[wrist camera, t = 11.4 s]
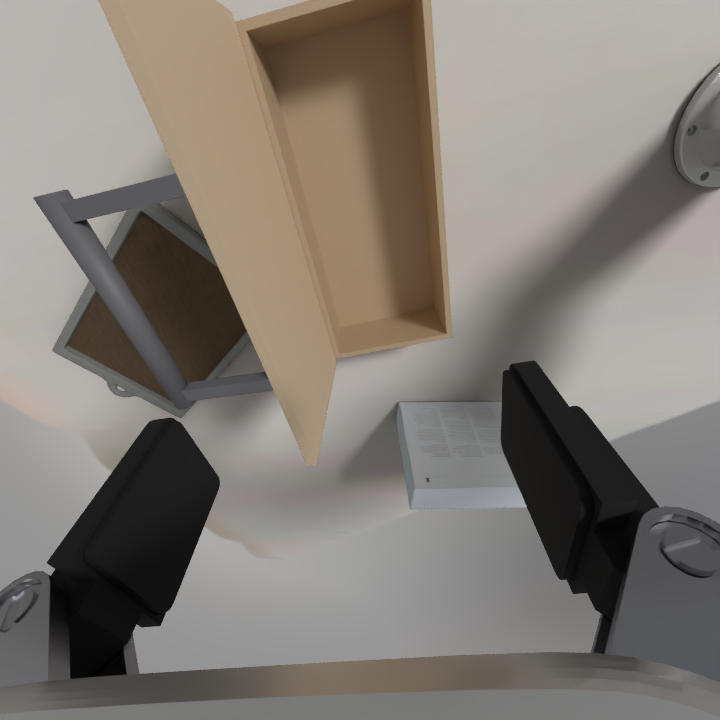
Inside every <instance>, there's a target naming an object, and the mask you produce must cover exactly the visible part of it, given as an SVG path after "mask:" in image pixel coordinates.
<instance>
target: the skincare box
mask: <svg viewBox="0 0 720 720" xmlns="http://www.w3.org/2000/svg"><path fill="white" fill-rule="evenodd" d="M501 411H502V402H399V403H398V409H397V416H396V425H397V431H398V437H399V443H400V450H401V456H402V462H403V468H404V474H405V480H406V486H407V492H408V499H409V505H410V509H411V510H415V509H468V508H469V509H470V508H471V509H472V508H518V507H527V506H526V504H525V501H524V499H523V497H522V494H521V492H520V490H519V488H518V485H517V483H516V481H515V478H514V476H513V474H512V471H511V469H510V467H509V464H508V462H507V460H506V457H505V455H504V453H503V450H502V446H501Z"/></svg>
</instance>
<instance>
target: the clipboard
mask: <svg viewBox="0 0 720 720" xmlns="http://www.w3.org/2000/svg"><path fill="white" fill-rule="evenodd" d="M106 252H107V253H108V255H109V257H110V258H111V260H112V261H113V263H114V265H115V266H116V268H117V270H118V271H119V273H120V274H121V276H122V278H123V279H124V281H125V282H126V284H127V286H128V287H129V289H130V290H131V292H132V294H133V295H134V297H135V298H136V300H137V302H138V303H139V305H140V306H141V308H142V310H143V311H144V313H145V315H146V316H147V318H148V319H149V321H150V323H151V324H152V326H153V327H154V329H155V331H156V332H157V334H158V335H159V337H160V339H161V340H162V342H163V343H164V345H165V347H166V348H167V350H168V352H169V353H170V355H171V356H172V358H173V360H174V361H175V363H176V364H177V366H178V368H179V369H180V371H181V372H182V374H183V376H184V377H185V379H186V380H187V382H196V381H203V380H210V379H216V378H217V377H218V376H219V375H220V374H221V373H222V371H223V370H224V369H225V368H226V367H227V366H228V365H229V363H230V362H231V361H232V360H233V359H234V358H235V357H236V355H237V354H238V353H239V352H240V351H241V350H242V349H243V348H244V346H245V345H246V344H247V343H248V342H249V341H250V340H251V339H250V336H249V334H248V332H247V330H246V328H245V325H244V323H243V321H242V319H241V316H240V314H239V312H238V310H237V308H236V305H235V303H234V301H233V299H232V296H231V294H230V292H229V290H228V288H227V285H226V283H225V281H224V279H223V276H222V274H221V272H220V270H219V268H218V265H217V263H216V261H215V259H214V256H213V254H212V252H211V250H210V248H209V245H208V243H207V241H206V240H205V239H204V238H203V237H201V236H200V235H199V234H198V233H196V232H195V231H194V230H192V229H191V228H190V227H188V226H187V225H186V224H185V223H183V222H182V221H181V220H179V219H178V218H177V217H176V216H174V215H173V214H172V213H170V212H169V211H168V210H166V209H165V208H164V207H163V206H161V205H160V204H159V203H153V204H149V205H145V206H141V207H136V208H132V209H128V210H127V211H126V213H125V215H124V217H123V219H122V221H121V223H120V224H119V226H118V228H117V230H116V232H115V234H114V236H113V238H112V239H111V241H110V243H109V245H108V247H107V249H106ZM53 351H54V352H55V353H57V354H59V355H61V356H63V357H65V358H67V359H69V360H71V361H72V362H74V363H76V364H78V365H80V366H82V367H84V368H86V369H88V370H90V371H92V372H93V373H95V374H97V375H99V376H101V377H103V378H104V379H105V380H106V381H107V384H108V387H109V389H110V390H111V391H112V392H113V393H114V394H116V395H118V396H121V397H130V396H134V395H135V396H139V397H141V398H143V399H145V400H147V401H149V402H151V403H153V404H154V405H156V406H158V407H160V408H162V409H164V410H166V411H168V412H170V413H172V414H174V415H175V416H177V417H179V418H182V417H183V416H184V414H185V413H186V412H187V411H188V410H189V409H190V408H191V407H192V406H190V407H189V408H186V409H183V410H178V409H177V408H176V407H175V405H174V404H173V402H172V401H171V399H170V398H169V396H168V395H167V393H166V392H165V390H164V389H163V388H162V386H161V385H160V383H159V382H158V380H157V379H156V377H155V376H154V374H153V373H152V371H151V370H150V369H149V367H148V366H147V364H146V363H145V361H144V360H143V358H142V357H141V355H140V354H139V352H138V351H137V349H136V348H135V347H134V345H133V344H132V342H131V341H130V339H129V338H128V336H127V335H126V333H125V332H124V330H123V329H122V327H121V326H120V325H119V323H118V322H117V320H116V319H115V317H114V316H113V314H112V313H111V311H110V310H109V308H108V307H107V305H106V304H105V303H104V301H103V300H102V298H101V297H100V295H99V294H98V292H97V291H96V289H95V288H94V286H93V285H92V283H91V282H90V281H89V282H88V284H87V286H86V288H85V290H84V292H83V294H82V295H81V297H80V299H79V301H78V303H77V305H76V307H75V308H74V310H73V312H72V314H71V316H70V318H69V320H68V322H67V323H66V325H65V327H64V329H63V331H62V333H61V335H60V336H59V338H58V340H57V342H56V344H55V346H54V348H53ZM117 385H118V386H120V387H122V388H124V389H125V390H126V391H124V392H123V391H120V390H118V389H117V387H116V386H117Z"/></svg>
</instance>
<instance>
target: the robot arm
mask: <svg viewBox="0 0 720 720" xmlns="http://www.w3.org/2000/svg"><path fill="white" fill-rule="evenodd" d="M674 158H675V163H676V166H677V169H678V171H679V172H680V174H681V175H682V177H684V178H685V179H686V180H687V181H689V182H690V183H693V184H696V185H699V186H706V187H720V65H719V66H718V67H717V68H716V69H715V70H714V71H713V72H712V73H711V74H710V75H709V76H708V77H707V78H706V80H705V81H704V82H703V84H702V85H701V86H700V87H699V89H698V90H697V91H696V93H695V94H694V96H693V98H692V99H691V101H690V102H689V104H688V106H687V107H686V110H685V112H684V114H683V116H682V118H681V121H680V123H679V126H678V130H677V133H676V137H675V145H674ZM501 446H502V450H503V453H504V455H505V457H506V460H507V462H508V464H509V467H510V469H511V471H512V474H513V476H514V478H515V481H516V483H517V485H518V488H519V490H520V492H521V494H522V497H523V499H524V501H525V504H526V506H527V508H528V511H529V513H530V515H531V518H532V520H533V522H534V524H535V526H536V529H537V531H538V534H539V536H540V538H541V541H542V543H543V545H544V548H545V550H546V552H547V554H548V557H549V559H550V562H551V563H552V566H553V569H554V571H555V573H556V575H557V576H558V578H559V579H560V580H567V581H568V583H569V586H570V588H571V590H572V592H573V594H578V593H588V595H589V598H590V600H591V602H592V604H593V606H594V608H595V610H597V611H599V612H600V613H601V615H600V619H599V623H598V627H597V630H596V634H595V638H594V642H593V646H592V650H591V653H562V652H539V653H511V654H482V655H457V656H439V657H438V656H437V657H420V658H401V659H382V660H364V661H346V662H327V663H312V664H294V665H276V666H260V667H243V668H226V669H211V670H194V671H179V672H163V673H149V674H148V673H147V674H139V668H138V662H137V656H136V651H135V645H134V639H133V634H132V633H133V630H134V628H135V626H136V624H137V625H139V626H140V627H152V626H161V623H162V621H163V618H164V616H165V613H166V612H167V611H168V610H169V609H170V608H171V607H172V605H173V603H174V600H175V598H176V595H177V592H178V590H179V588H180V585H181V583H182V580H183V578H184V575H185V573H186V570H187V568H188V565H189V563H190V560H191V557H192V555H193V553H194V550H195V547H196V545H197V542H198V540H199V537H200V535H201V532H202V530H203V527H204V525H205V522H206V520H207V517H208V515H209V512H210V510H211V507H212V505H213V502H214V500H215V497H216V495H217V492H218V490H219V486H220V480H219V477H218V475H217V474H216V472H215V471H214V470H213V468H212V467H211V465H210V464H209V462H208V461H207V459H206V458H205V457H204V455H203V454H202V452H201V451H200V449H199V448H198V447H197V445H196V444H195V442H194V441H193V439H192V438H191V436H190V435H189V434H188V432H187V431H186V429H185V428H184V426H183V425H182V424H181V423H180V422H177V421H176V420H175V419H173V418H165V419H158V420H152V421H150V422H149V423H148V424H147V425H146V426H145V428H144V429H143V431H142V432H141V433H140V435H139V436H138V437H137V439H136V440H135V442H134V443H133V444H132V446H131V447H130V448H129V450H128V451H127V453H126V454H125V455H124V457H123V458H122V460H121V461H120V462H119V464H118V465H117V466H116V468H115V469H114V471H113V472H112V473H111V475H110V476H109V478H108V479H107V480H106V482H105V483H104V484H103V486H102V487H101V489H100V490H99V492H98V493H97V494H96V495H95V497H94V498H93V500H92V501H91V502H90V504H89V505H88V506H87V508H86V509H85V511H84V512H83V513H82V515H81V516H80V517H79V519H78V520H77V522H76V523H75V525H74V526H73V527H72V528H71V530H70V531H69V533H68V534H67V535H66V537H65V538H64V540H63V541H62V542H61V544H60V545H59V546H58V548H57V549H56V550H55V552H54V553H53V555H52V556H51V557H50V559H49V560H48V562H47V563H48V564H49V565H51V566H52V567H54V568H55V571H54V572H53V574H52V575H51V576H50V575H48V574H47V573H45V572H44V571H35V572H32V573H29V574H26V575H24V576H22V577H20V578H19V579H17V580H15V581H13V582H12V583H11V584H9V585H8V586H7V587H5V588H4V589H3V590H2V591H0V720H720V524H718V523H717V522H716V521H714V520H712V519H710V518H708V517H706V516H704V515H702V514H700V513H697V512H694V511H691V510H687V509H683V508H680V507H667V506H665V507H659V506H658V505H657V503H656V502H655V501H654V500H653V498H652V497H651V496H650V495H649V493H648V492H647V491H646V489H645V488H644V487H643V486H642V484H641V483H640V482H639V480H638V479H637V478H636V477H635V475H634V474H633V473H632V471H631V470H630V469H629V468H628V466H627V465H626V464H625V463H624V461H623V460H622V459H621V457H620V456H619V455H618V453H617V452H616V451H615V450H614V448H613V447H612V446H611V445H610V443H609V442H608V441H607V439H606V438H605V437H604V436H603V434H602V433H601V432H600V430H599V429H598V428H597V427H596V425H595V424H594V423H593V421H592V420H591V419H590V418H589V416H588V415H587V414H586V413H585V412H584V410H583V409H582V408H580V407H578V406H571V407H569V406H568V404H567V403H566V402H565V400H564V399H563V398H562V396H561V395H560V394H559V392H558V391H557V390H556V388H555V387H554V385H553V384H552V383H551V381H550V380H549V379H548V377H547V376H546V375H545V373H544V372H543V371H542V369H541V368H540V366H539V365H538V364H537V363H536V362H535V361H528V362H521V363H515V364H511V365H510V368H509V370H506V371H504V372H503V383H502V411H501Z"/></svg>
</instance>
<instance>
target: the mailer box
mask: <svg viewBox="0 0 720 720" xmlns="http://www.w3.org/2000/svg"><path fill="white" fill-rule="evenodd" d="M235 23H236V27H237V30H238V33H239V37H240V40H241V43H242V47H243V50H244V53H245V57H246V60H247V63H248V67H249V70H250V74H251V77H252V80H253V84H254V87H255V90H256V94H257V97H258V100H259V104H260V107H261V110H262V114H263V117H264V121H265V124H266V127H267V131H268V134H269V137H270V141H271V144H272V147H273V151H274V154H275V157H276V161H277V164H278V167H279V171H280V174H281V178H282V181H283V184H284V188H285V191H286V194H287V198H288V201H289V204H290V208H291V211H292V214H293V218H294V221H295V224H296V228H297V231H298V235H299V238H300V241H301V245H302V248H303V251H304V255H305V258H306V261H307V265H308V268H309V271H310V275H311V278H312V281H313V285H314V288H315V292H316V295H317V298H318V302H319V305H320V308H321V312H322V315H323V318H324V322H325V325H326V328H327V332H328V335H329V339H330V342H331V345H332V349H333V352H334V355H335V359H340V358H345V357H350V356H356V355H361V354H366V353H372V352H377V351H382V350H388V349H393V348H398V347H404V346H409V345H414V344H420V343H425V342H431V341H436V340H441V339H447V338H452V326H451V310H450V294H449V278H448V262H447V246H446V231H445V215H444V199H443V183H442V167H441V151H440V135H439V120H438V104H437V88H436V72H435V56H434V40H433V24H432V9H431V0H310V1H306V2H303V3H299V4H296V5H292V6H289V7H285V8H282V9H278V10H275V11H272V12H268V13H265V14H261V15H258V16H254V17H251V18H247V19H244V20H240V21H237V22H235Z"/></svg>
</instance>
